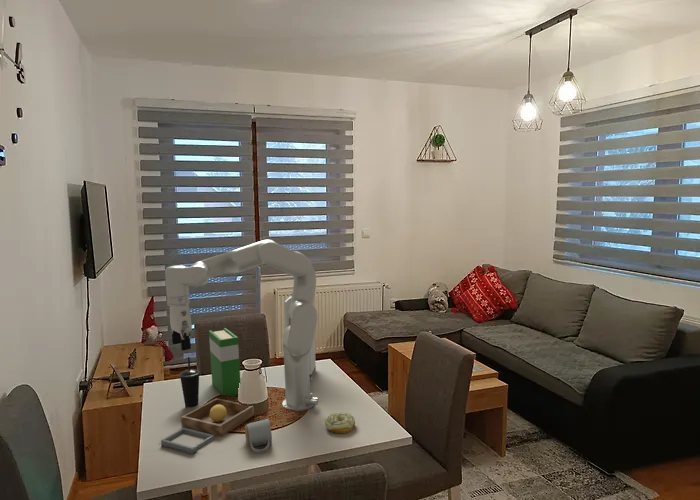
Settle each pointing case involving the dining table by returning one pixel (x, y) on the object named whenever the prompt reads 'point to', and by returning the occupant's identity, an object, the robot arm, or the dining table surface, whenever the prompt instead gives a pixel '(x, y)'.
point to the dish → (184, 448)
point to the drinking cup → (190, 386)
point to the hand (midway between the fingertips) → (181, 346)
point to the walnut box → (204, 423)
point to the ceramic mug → (258, 434)
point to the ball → (218, 413)
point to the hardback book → (225, 362)
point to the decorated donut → (340, 422)
